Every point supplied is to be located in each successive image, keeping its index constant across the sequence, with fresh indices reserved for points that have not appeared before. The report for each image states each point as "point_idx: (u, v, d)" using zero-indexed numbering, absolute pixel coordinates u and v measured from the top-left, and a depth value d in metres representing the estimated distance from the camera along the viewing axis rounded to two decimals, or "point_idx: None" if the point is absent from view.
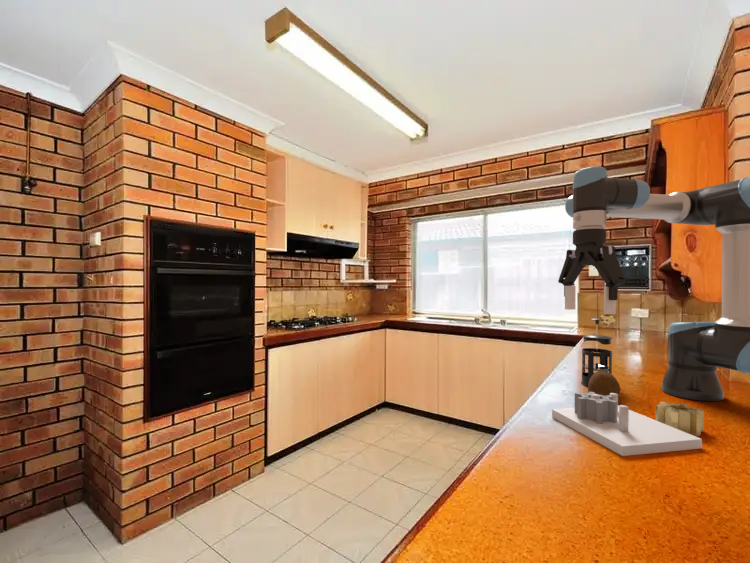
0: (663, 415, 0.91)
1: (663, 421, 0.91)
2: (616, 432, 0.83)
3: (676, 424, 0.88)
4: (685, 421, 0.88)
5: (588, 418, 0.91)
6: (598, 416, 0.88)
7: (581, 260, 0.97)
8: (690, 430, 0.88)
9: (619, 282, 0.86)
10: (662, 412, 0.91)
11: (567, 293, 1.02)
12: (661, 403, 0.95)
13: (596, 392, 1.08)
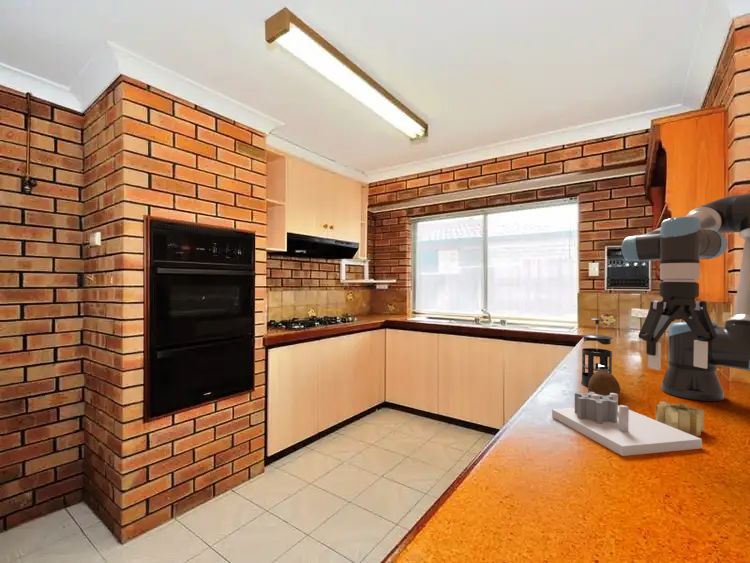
0: (663, 415, 0.91)
1: (663, 421, 0.91)
2: (616, 432, 0.83)
3: (676, 424, 0.88)
4: (685, 421, 0.88)
5: (588, 418, 0.91)
6: (598, 416, 0.88)
7: None
8: (690, 430, 0.88)
9: (640, 337, 0.89)
10: (662, 412, 0.91)
11: (694, 348, 0.93)
12: (661, 403, 0.95)
13: (596, 392, 1.08)
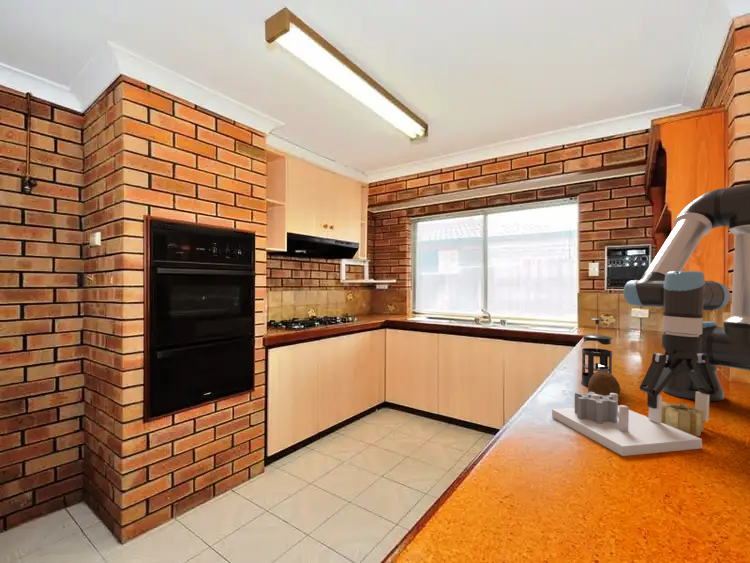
0: (663, 415, 0.91)
1: (663, 421, 0.91)
2: (616, 432, 0.83)
3: (676, 424, 0.88)
4: (685, 421, 0.88)
5: (588, 418, 0.91)
6: (598, 416, 0.88)
7: None
8: (690, 430, 0.88)
9: (642, 389, 0.89)
10: (662, 412, 0.91)
11: (696, 400, 0.93)
12: None
13: (596, 392, 1.08)
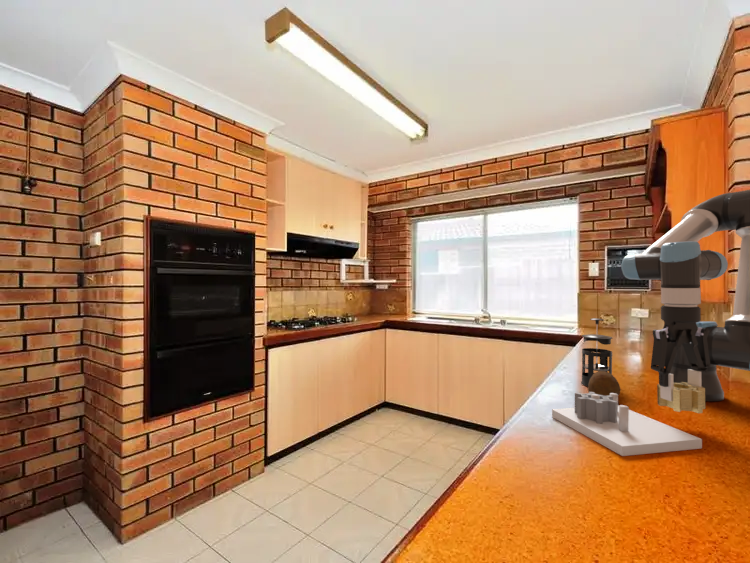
0: None
1: (665, 400, 0.92)
2: (616, 432, 0.83)
3: (678, 402, 0.88)
4: (687, 399, 0.88)
5: (588, 418, 0.91)
6: (598, 416, 0.88)
7: None
8: (691, 408, 0.88)
9: (653, 369, 0.90)
10: None
11: (688, 377, 0.93)
12: None
13: (596, 392, 1.08)
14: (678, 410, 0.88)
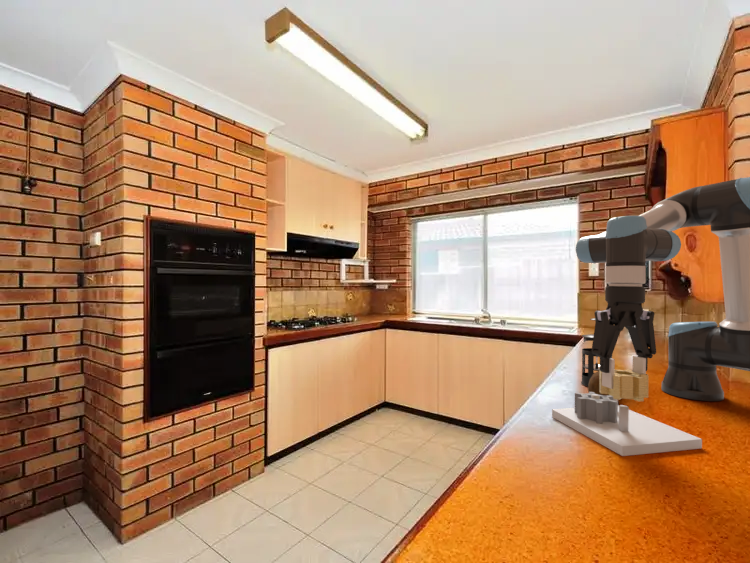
0: None
1: (606, 388, 0.85)
2: (616, 432, 0.83)
3: (618, 389, 0.81)
4: (628, 386, 0.81)
5: (588, 418, 0.91)
6: (598, 416, 0.88)
7: None
8: (632, 395, 0.81)
9: (593, 353, 0.83)
10: None
11: (633, 365, 0.86)
12: None
13: (596, 392, 1.08)
14: (618, 398, 0.81)
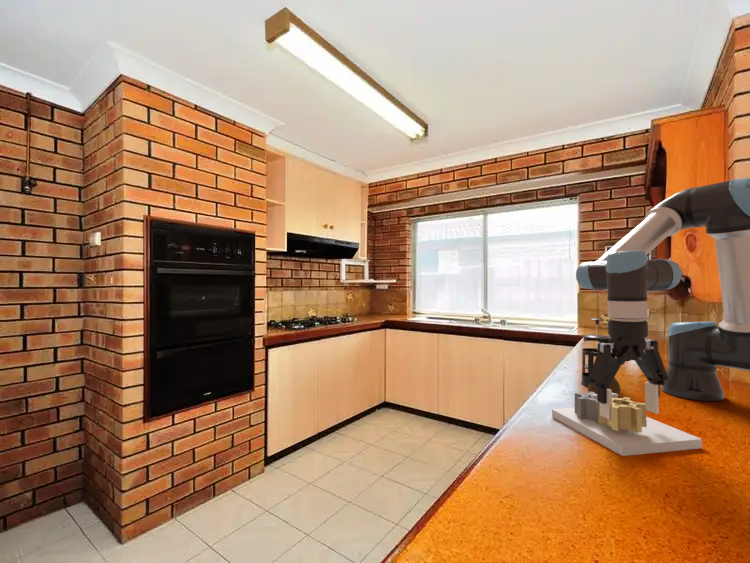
0: None
1: None
2: (616, 432, 0.83)
3: (616, 420, 0.81)
4: (626, 417, 0.81)
5: (588, 418, 0.91)
6: None
7: None
8: (631, 426, 0.81)
9: (590, 384, 0.83)
10: None
11: (645, 391, 0.87)
12: None
13: (596, 392, 1.08)
14: (616, 429, 0.81)
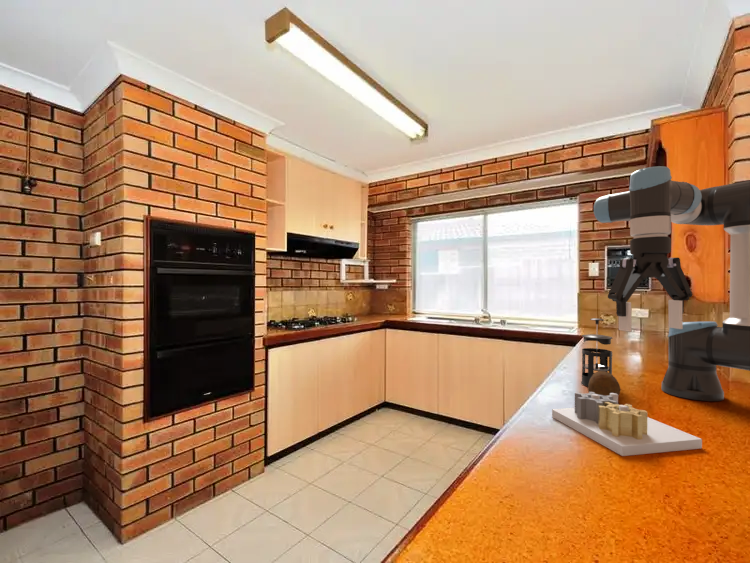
0: (605, 417, 0.85)
1: (605, 423, 0.85)
2: None
3: (616, 426, 0.81)
4: (627, 423, 0.81)
5: (588, 418, 0.91)
6: None
7: None
8: (631, 433, 0.81)
9: (610, 297, 0.84)
10: (604, 413, 0.85)
11: (669, 308, 0.87)
12: (605, 404, 0.88)
13: (596, 392, 1.08)
14: (616, 435, 0.81)
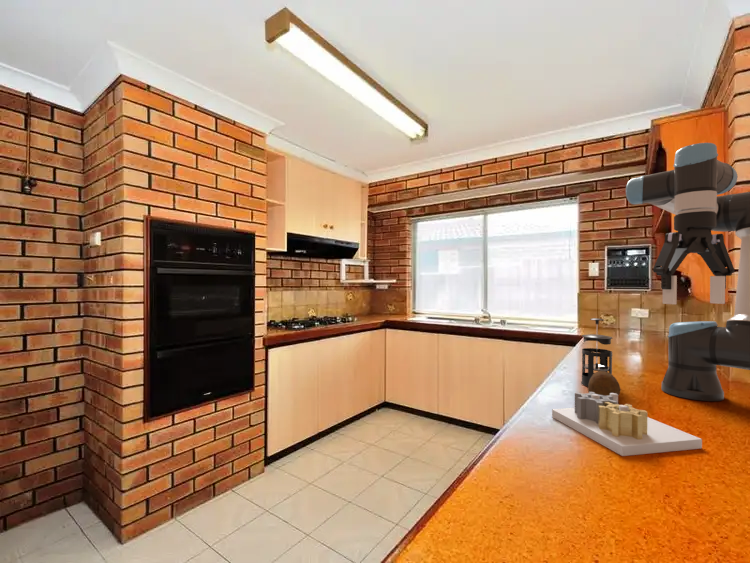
0: (605, 417, 0.85)
1: (605, 423, 0.85)
2: None
3: (616, 426, 0.81)
4: (627, 423, 0.81)
5: (588, 418, 0.91)
6: None
7: None
8: (631, 433, 0.81)
9: (655, 271, 0.85)
10: (604, 413, 0.85)
11: (711, 284, 0.89)
12: (605, 404, 0.88)
13: (596, 392, 1.08)
14: (616, 435, 0.81)
